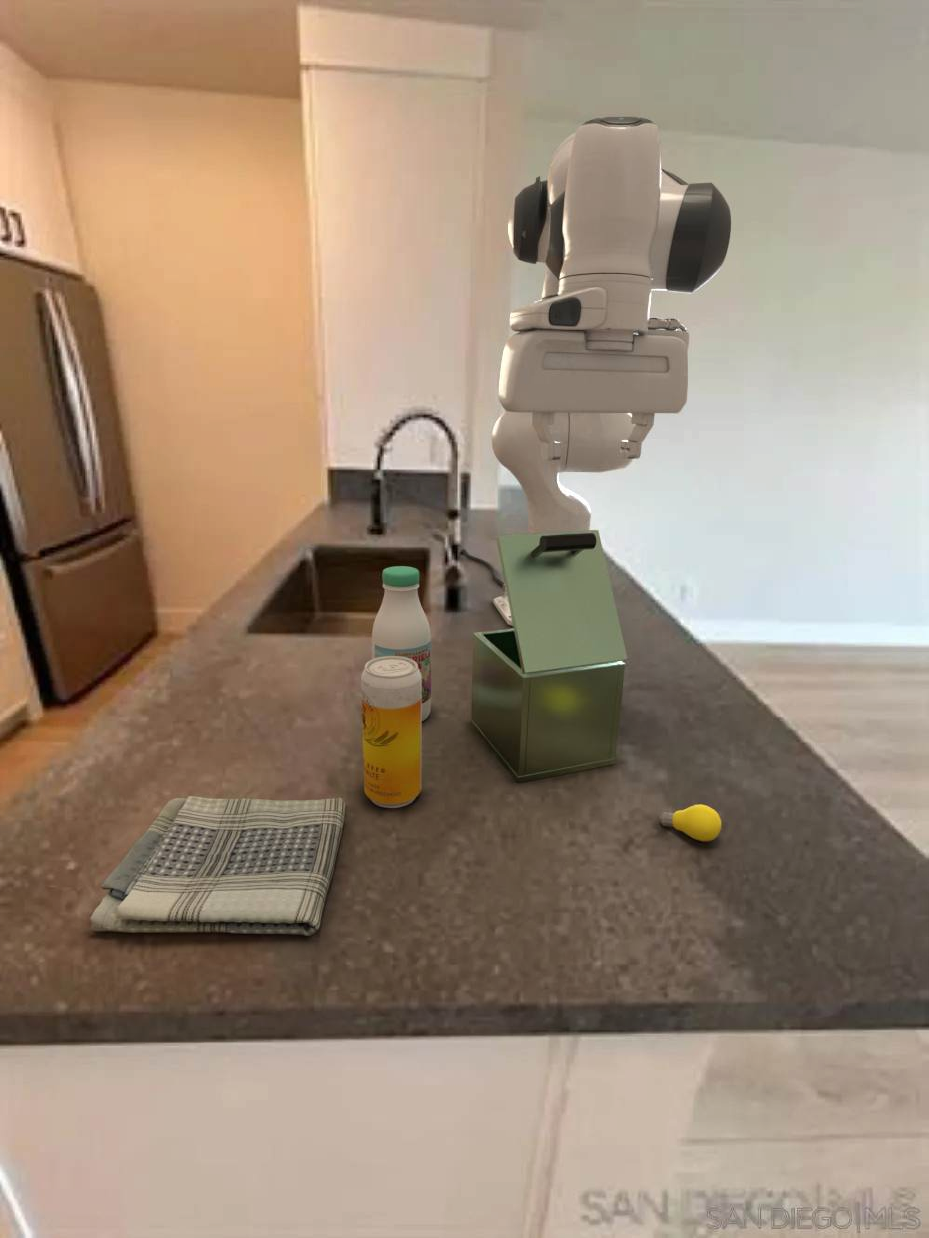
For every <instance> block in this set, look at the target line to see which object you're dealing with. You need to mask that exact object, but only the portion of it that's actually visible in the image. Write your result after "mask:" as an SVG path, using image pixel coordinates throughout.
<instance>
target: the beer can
mask: <svg viewBox="0 0 929 1238" xmlns="http://www.w3.org/2000/svg"><path fill="white" fill-rule="evenodd" d="M360 691H361V719H362V721H361V723H362V754H363V755H362V758H363V788H364V789H363V790H364V793H365V796H366V797H367V798H369V800H370V801H371V802H372V803H374V805H376V806H378V807H380V808H385V809H397V808H398V809H399V808H402V807H405V806H408V805H409V804H411V803H413V801H415V800H416V797H418V796H419V795H420V793H421V791H422V771H423V770H422V767H423V766H422V763H423V762H422V759H423V758H422V747H423V743H422V742H423V741H422V740H423V739H422V735H423V733H422V730H423V729H422V728H423V727H422V722H423V721H422V675H421V673H420V671H419V669H418V665H417V663H416V662H415V661H414V660H412V659H410V658H406V657H401V656H384V657H378V658H375V659H372V658H371V659H370V660H368V661H367V662H366V663H365V664H364V669H363V671H362V673H361V675H360Z"/></svg>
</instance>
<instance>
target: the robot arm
mask: <svg viewBox="0 0 929 1238" xmlns="http://www.w3.org/2000/svg"><path fill="white" fill-rule="evenodd" d="M731 213H732V212H731V209H730V206H729V204H728V202H727V200H726V198H725V197H724V195H723V194H722V192H721V191H720V190H719V189H718V188H717V186H716V185H715V184H714V183H712V182H697V183H688V182H686V181H685V180H683V179H682V178H680V177H679V176H678V175H676V174H674V173H673V172H670V171H668V170H665V169H664V168H662V145H661V132H660V127H659V126H658V124H656V123H654V121H652V120H651V119H647V118H646V117H637V116H605V117H596V118H593V119H590V120H587V121H585V122H584V123H582V124H580V125H579V126H578V127H577V128H576V130H575V132H573V133H571V134H570V135H568V136H567V137H566V138H565V139H564V140H563V141H562V142H561V144H559V146H558V148H557V149H556V151H555V152H554V155H553V156H552V159H551V162H550V165H549V169H548V174H547V179H546V180H541V175H539V176H537V177H535V181H534V183H532V184H529V185H528V186H525V187H524V188H522V190H520V192H519V193H518V194H517V195H516V196H515V198H514V202H513V204H512V206H511V209H510V213H509V215H508V220H507V232H508V239H509V242H510V246H511V248H512V250H513V251H512V252H513V254H514V256H515V257H516V259H517V260H519V261H521V262H524V263H527V264H532V265H537V264H538V263H540V264H545V266H546V267H547V269H546V271H545V277H544V281H543V286H542V292H541V298H540V299H539V300H536V301H533V302H530V303H527V304H523V305H520V306H518V307H515V308H513V309H512V310H511V311H510V316H509V326H510V329H511V330H512V331H513V332H516V333H514V334H513V335H511V336H510V337H509V338H508V339H507V341H506V343H505V345H504V348H503V353H502V356H501V357H502V358H501V362H500V372H499V381H498V383H499V384H498V400H499V403H500V405H501V406H502V408H503V409H504V412H502V413H501V414H500V415H499V416H498V418H497V419H496V421H495V423H494V426H493V428H492V431H491V448H492V451H493V454H494V457H495V458H496V459H497V461H498V462H499V463H500V464H501V465H502V466H503V467H504V468H505V469H507V470H508V471H509V473H511V474H512V476H513V477H514V478H515V479H516V480H517V482H518V484H519V485H520V487H521V489H522V491H523V493H524V496H525V500H526V504H527V511H528V534H532V533H549V532H567V531H585V530H591V522H592V521H591V519H592V510H591V507H590V505H589V503H588V502H587V500H586V499H584V498H583V497H581V496H580V495H579V494H577V493H575V492H573V491H571V490H570V489H568V488H566V487H564V486H563V485H562V484H561V483H560V481H559V475H560V474H562V473H565V472H566V473H599V474H600V473H607V472H613V471H618V470H624V469H627V468H628V467H629V466H630V465H631V464H632V462H633V461H634V460H636V459H637V460H639V459H640V458H641V455H642V445H643V442H644V441H645V439H646V438H647V436H648V434H649V433H650V431H651V430H652V429H653V427H654V423H655V415H656V414H680V413H681V411H682V410H683V409H684V407H685V406H686V405H687V403H688V397H689V396H688V395H689V346H690V333H689V332H688V330H687V328H686V327H685V326H684V325H683V324H682V323H681V321H680V320H679V319H677V318H670V317H669V318H659V317H654V316H650V311H651V310H650V309H651V301H652V300H651V299H652V291H666V292H671V293H682V294H693V293H695V292H696V291H698V290H699V289H701V288H702V287H703V286H704V285H706V284H707V283H708V282H709V281H710V280H712V278H713V277H715V276H716V274H717V273H719V271H720V270H721V268H722V267H723V264H724V263H725V260H726V256H727V254H728V250H729V246H730V240H731V233H732V215H731ZM460 551H461V552H459V554H460V553H461V554H460V555H464V556H465V557H466V558H467V559H468V560H471V561H474V562H477V563H480V564H482V565H484V566H486V567H487V568H488V569H489V570H490V571H491V573H492V579H493V580H494V581H495V582H496V583H497V585H499V586H500V587H501V588H502V594H503V595H501V596H497V597H494V599H493V605H494V607H495V608H496V609H497V611H498V612H499V614H500V615H501V617H502V618H503V620H504V621H505V623H506V624H507V625H508V626H511V627H513V622H512V617H511V612H510V607H509V601H508V596H507V591H506V586H505V582H503V581H502V580H501V579H500V578H499V577H498V576H497V575H498V572H497V569H495V567H494V566H493V565H492V564H491V563H489V562H488V561H487V560H484V559H482V558H479V557H477V556H474V555H471V554H470V553H468V550H467V549H465V548H462V549H461V550H460Z"/></svg>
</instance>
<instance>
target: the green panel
mask: <svg viewBox="0 0 929 1238" xmlns="http://www.w3.org/2000/svg"><path fill="white" fill-rule="evenodd" d="M495 538H496V539H495V540H496V544H497V549H498V555H499V560H500V566H501V570H502V575H503V580H504V583H505V586H506V591H507V596H508V601H509V607H510V612H511V617H512V622H513V626H512V627H513V629H514V632H515V638H516V643H517V648H518V653H519V658H520V663H521V669H522V674H529V673H536V672H544V671H551V670H558V669H566V668H573V667H581V666H588V665H596V664H603V663H611V662H618V661H622V662H624V661H627V660H629V658H628V654H627V650H626V645H625V642H624V637H623V632H622V627H621V623H620V619H619V615H618V610H617V606H616V601H615V597H614V592H613V588H612V584H611V579H610V575H609V571H608V567H607V562H606V558H605V553H604V549H603V544H602V539H601V535H600V532H599V529H590V530H585V531H567V532H549V533H532V534H529V533H515V534H500V535H497V537H495Z"/></svg>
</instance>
